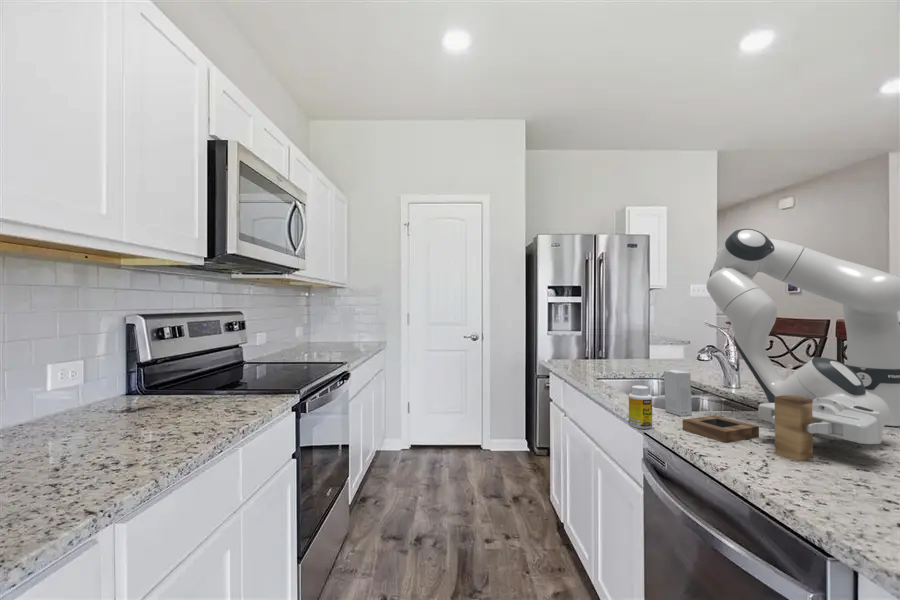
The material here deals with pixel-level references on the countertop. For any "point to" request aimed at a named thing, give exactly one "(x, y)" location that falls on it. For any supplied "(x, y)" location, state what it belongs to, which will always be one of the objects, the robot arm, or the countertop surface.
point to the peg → (793, 427)
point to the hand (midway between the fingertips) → (790, 424)
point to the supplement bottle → (640, 408)
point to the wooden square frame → (721, 428)
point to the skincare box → (677, 392)
